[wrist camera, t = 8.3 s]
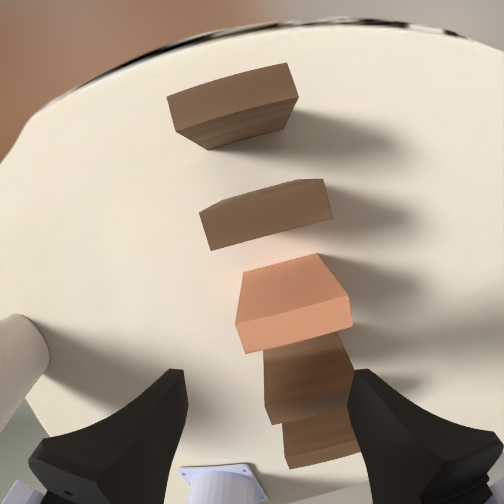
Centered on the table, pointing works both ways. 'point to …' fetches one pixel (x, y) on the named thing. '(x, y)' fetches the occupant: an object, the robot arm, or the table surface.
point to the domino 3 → (290, 304)
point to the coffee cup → (19, 362)
